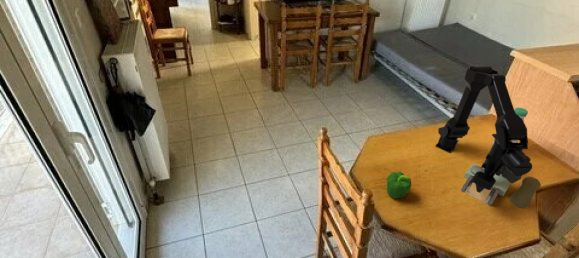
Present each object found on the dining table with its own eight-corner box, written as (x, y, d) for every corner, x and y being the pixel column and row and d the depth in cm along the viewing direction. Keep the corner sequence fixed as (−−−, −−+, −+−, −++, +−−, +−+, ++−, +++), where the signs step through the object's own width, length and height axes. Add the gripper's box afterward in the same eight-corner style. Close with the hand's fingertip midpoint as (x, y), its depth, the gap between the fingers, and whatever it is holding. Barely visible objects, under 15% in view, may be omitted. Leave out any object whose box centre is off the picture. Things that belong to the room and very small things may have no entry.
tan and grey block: (468, 191, 117) (473, 181, 114) (472, 185, 120) (477, 174, 116) (485, 200, 114) (491, 189, 110) (489, 193, 116) (495, 183, 113)
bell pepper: (379, 191, 117) (384, 172, 111) (393, 182, 121) (398, 163, 115) (397, 206, 112) (403, 186, 106) (411, 195, 116) (418, 176, 110)
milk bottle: (512, 146, 138) (533, 108, 126) (511, 156, 133) (532, 117, 121) (492, 140, 142) (511, 103, 130) (490, 150, 136) (510, 111, 124)
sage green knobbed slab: (464, 177, 123) (467, 170, 121) (470, 168, 127) (473, 161, 125) (503, 196, 115) (506, 189, 113) (508, 186, 119) (512, 179, 117)
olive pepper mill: (506, 195, 116) (519, 174, 109) (521, 194, 116) (535, 173, 109) (516, 208, 111) (531, 187, 104) (533, 207, 111) (548, 186, 105)
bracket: (460, 190, 118) (462, 185, 116) (468, 179, 122) (470, 174, 121) (490, 206, 112) (493, 201, 110) (497, 193, 116) (500, 189, 115)
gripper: (518, 181, 95) (497, 213, 105) (533, 152, 106) (514, 184, 115) (479, 163, 102) (463, 195, 111) (498, 138, 112) (482, 169, 122)
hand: (482, 186), depth 115 cm, fingers open, 7 cm apart
